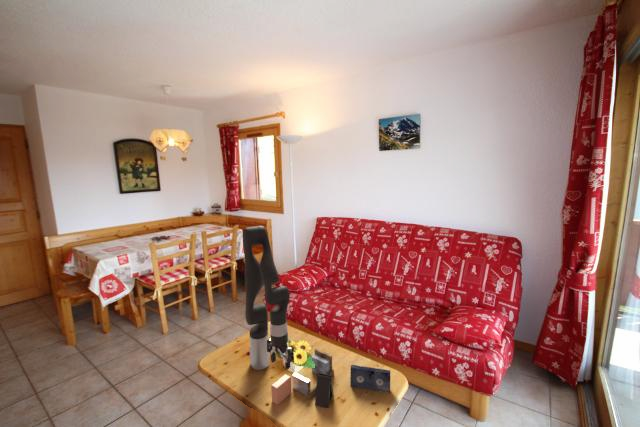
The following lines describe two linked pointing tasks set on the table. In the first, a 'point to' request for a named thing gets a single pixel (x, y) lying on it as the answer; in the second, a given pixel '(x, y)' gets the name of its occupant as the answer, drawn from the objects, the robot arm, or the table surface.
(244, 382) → the table surface
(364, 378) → the vhs cassette tape
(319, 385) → the door stopper
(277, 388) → the book
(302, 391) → the grey flat box
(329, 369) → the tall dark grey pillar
